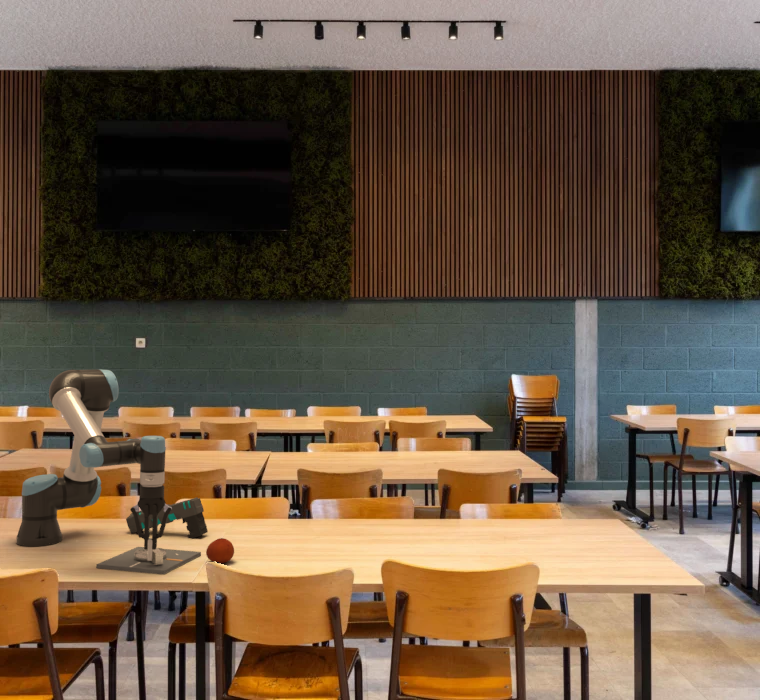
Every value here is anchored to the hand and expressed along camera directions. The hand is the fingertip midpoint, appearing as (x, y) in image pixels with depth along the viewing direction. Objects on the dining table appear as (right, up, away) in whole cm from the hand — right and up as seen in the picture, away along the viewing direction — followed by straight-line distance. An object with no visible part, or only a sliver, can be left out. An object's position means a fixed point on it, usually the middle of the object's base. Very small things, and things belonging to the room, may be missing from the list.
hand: (150, 559), depth 258 cm
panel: (-2, -3, +9) cm, 10 cm away
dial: (-1, -2, +6) cm, 7 cm away
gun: (-7, -3, +47) cm, 48 cm away
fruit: (+20, -3, +9) cm, 22 cm away
